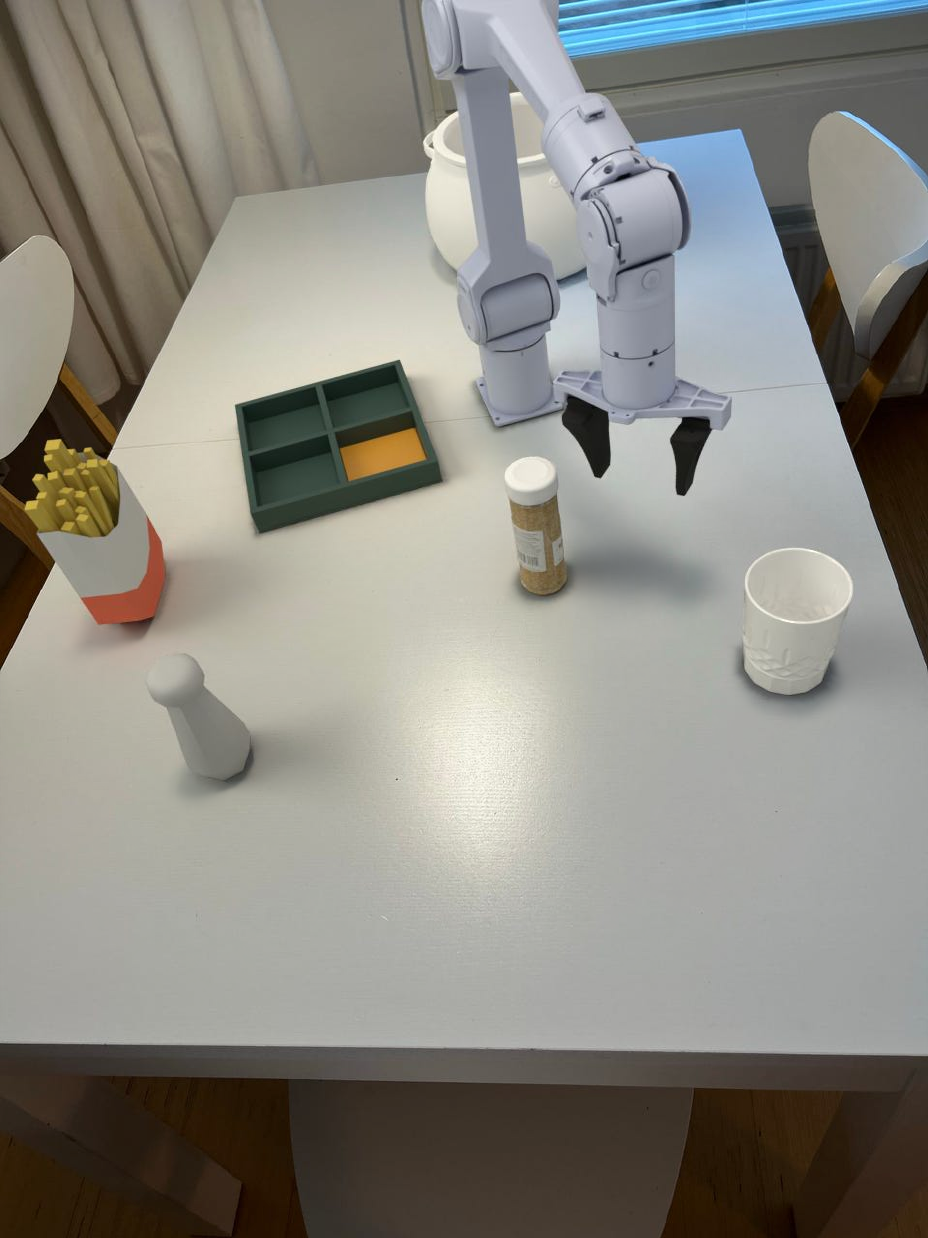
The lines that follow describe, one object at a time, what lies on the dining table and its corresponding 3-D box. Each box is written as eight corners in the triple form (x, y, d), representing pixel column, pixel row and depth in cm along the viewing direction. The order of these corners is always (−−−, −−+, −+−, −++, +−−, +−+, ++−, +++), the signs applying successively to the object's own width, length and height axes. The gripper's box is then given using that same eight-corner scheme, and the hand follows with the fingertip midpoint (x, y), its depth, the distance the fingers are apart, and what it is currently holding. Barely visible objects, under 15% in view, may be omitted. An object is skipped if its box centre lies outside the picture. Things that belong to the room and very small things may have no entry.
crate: (242, 423, 114) (234, 404, 111) (404, 379, 115) (399, 358, 113) (259, 533, 100) (250, 513, 98) (442, 481, 101) (438, 460, 99)
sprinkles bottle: (577, 580, 89) (568, 472, 79) (538, 604, 88) (524, 497, 78) (548, 554, 92) (535, 446, 82) (510, 577, 91) (493, 470, 80)
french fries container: (174, 557, 100) (100, 421, 86) (152, 636, 92) (68, 500, 79) (133, 562, 100) (53, 427, 87) (108, 641, 93) (17, 506, 79)
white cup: (837, 636, 80) (857, 554, 73) (829, 710, 76) (849, 631, 68) (743, 621, 83) (752, 541, 75) (729, 692, 78) (737, 614, 71)
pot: (392, 276, 131) (365, 157, 119) (495, 189, 144) (481, 73, 132) (568, 317, 118) (559, 188, 106) (665, 218, 131) (667, 92, 118)
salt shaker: (197, 737, 84) (137, 645, 74) (260, 727, 83) (208, 634, 73) (190, 794, 80) (126, 705, 70) (256, 784, 79) (201, 693, 70)
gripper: (529, 353, 73) (547, 490, 83) (710, 381, 66) (707, 526, 76) (569, 308, 77) (581, 444, 86) (743, 330, 70) (736, 474, 80)
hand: (642, 479), depth 82 cm, fingers open, 7 cm apart
